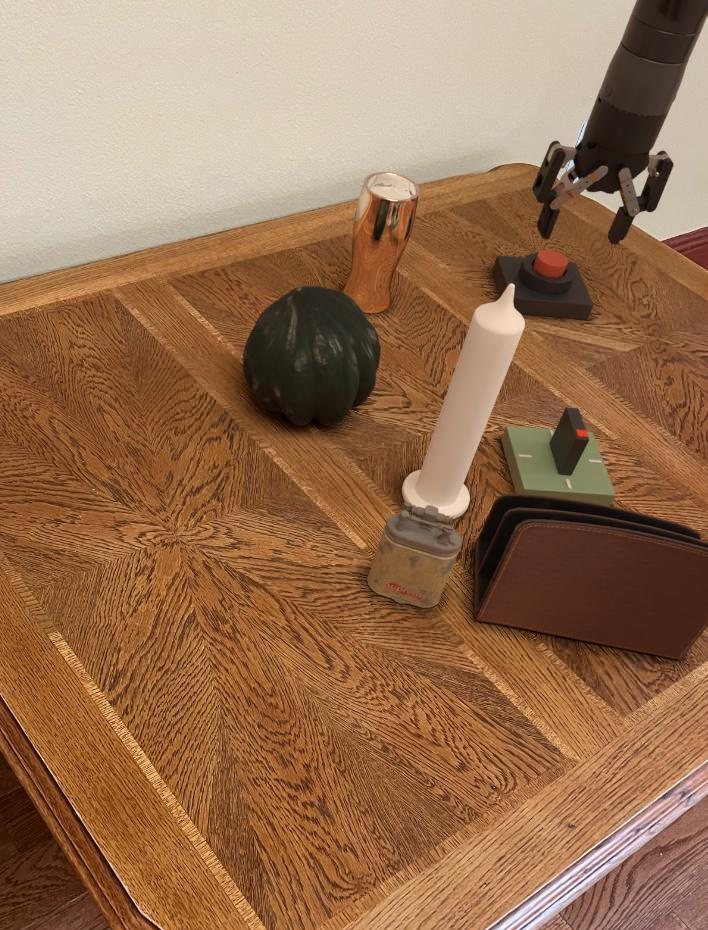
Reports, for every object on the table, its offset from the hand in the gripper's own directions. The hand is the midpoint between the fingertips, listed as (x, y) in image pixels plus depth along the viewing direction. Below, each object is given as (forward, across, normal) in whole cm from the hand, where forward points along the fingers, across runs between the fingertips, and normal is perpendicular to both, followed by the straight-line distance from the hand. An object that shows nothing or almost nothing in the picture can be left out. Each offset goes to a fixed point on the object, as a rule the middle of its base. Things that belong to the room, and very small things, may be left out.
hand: (577, 238), depth 111 cm
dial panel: (+12, +6, +28) cm, 31 cm away
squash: (+12, +32, +18) cm, 39 cm away
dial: (+10, +6, +28) cm, 30 cm away
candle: (+12, +20, +32) cm, 40 cm away
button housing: (+12, -1, -7) cm, 14 cm away
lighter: (+12, +25, +45) cm, 53 cm away
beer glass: (+12, +23, -3) cm, 26 cm away
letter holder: (+12, +8, +46) cm, 48 cm away
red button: (+8, -1, -7) cm, 11 cm away
